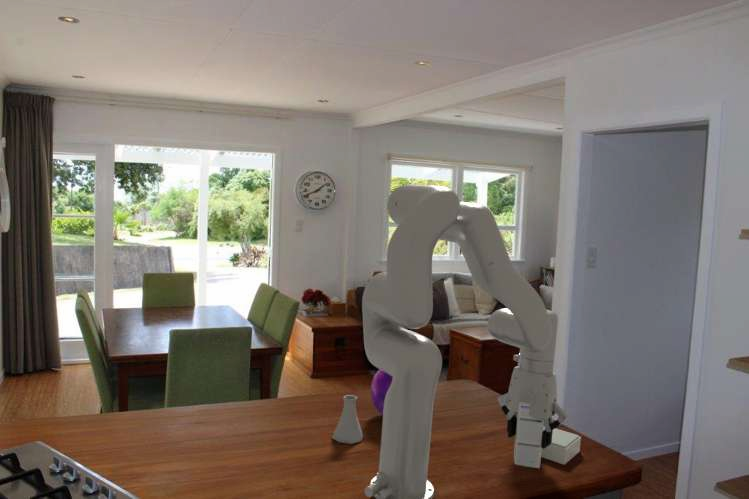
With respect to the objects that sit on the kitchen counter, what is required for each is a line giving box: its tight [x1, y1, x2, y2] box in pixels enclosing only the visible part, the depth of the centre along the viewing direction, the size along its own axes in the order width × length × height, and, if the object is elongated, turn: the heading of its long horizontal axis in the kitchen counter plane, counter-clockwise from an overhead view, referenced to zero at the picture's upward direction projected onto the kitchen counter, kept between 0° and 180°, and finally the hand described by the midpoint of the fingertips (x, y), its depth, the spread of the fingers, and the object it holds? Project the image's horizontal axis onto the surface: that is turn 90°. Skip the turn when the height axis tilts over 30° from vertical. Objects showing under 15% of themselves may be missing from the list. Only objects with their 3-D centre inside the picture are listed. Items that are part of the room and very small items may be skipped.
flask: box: [331, 394, 364, 445], centre depth 143 cm, size 7×7×10 cm
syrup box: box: [513, 402, 544, 469], centre depth 137 cm, size 6×6×14 cm
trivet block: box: [541, 427, 582, 466], centre depth 144 cm, size 10×10×4 cm
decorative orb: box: [370, 369, 393, 416], centre depth 157 cm, size 15×15×15 cm
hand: (528, 440), depth 137 cm, fingers closed on syrup box, 7 cm apart
